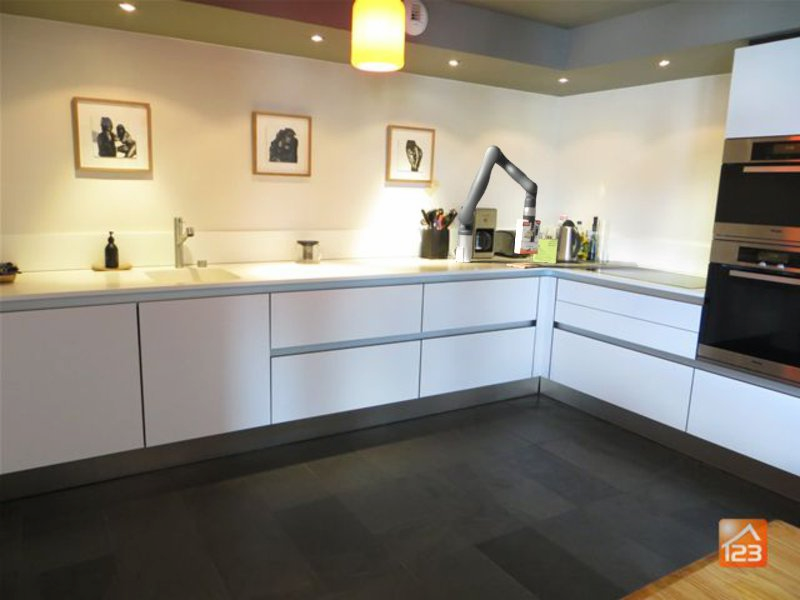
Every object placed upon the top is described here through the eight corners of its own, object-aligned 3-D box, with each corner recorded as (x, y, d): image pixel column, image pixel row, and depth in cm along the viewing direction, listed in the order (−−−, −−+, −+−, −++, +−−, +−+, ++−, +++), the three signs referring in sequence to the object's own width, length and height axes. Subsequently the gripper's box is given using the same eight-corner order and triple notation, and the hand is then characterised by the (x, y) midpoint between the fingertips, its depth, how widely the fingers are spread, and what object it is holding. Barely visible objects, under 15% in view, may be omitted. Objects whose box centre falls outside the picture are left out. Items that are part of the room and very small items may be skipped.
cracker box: (520, 254, 354) (522, 219, 351) (514, 253, 360) (516, 219, 356) (538, 254, 360) (541, 220, 357) (532, 252, 366) (535, 219, 362)
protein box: (555, 263, 386) (558, 240, 383) (532, 261, 391) (534, 238, 388) (556, 261, 396) (558, 239, 393) (533, 260, 400) (535, 237, 398)
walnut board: (524, 268, 350) (524, 266, 350) (506, 265, 360) (506, 263, 360) (544, 266, 363) (544, 265, 363) (526, 264, 373) (526, 262, 373)
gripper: (516, 214, 359) (514, 241, 362) (535, 215, 348) (532, 243, 351) (523, 214, 364) (521, 240, 367) (542, 215, 353) (540, 242, 356)
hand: (527, 241), depth 359 cm, fingers closed on cracker box, 6 cm apart
